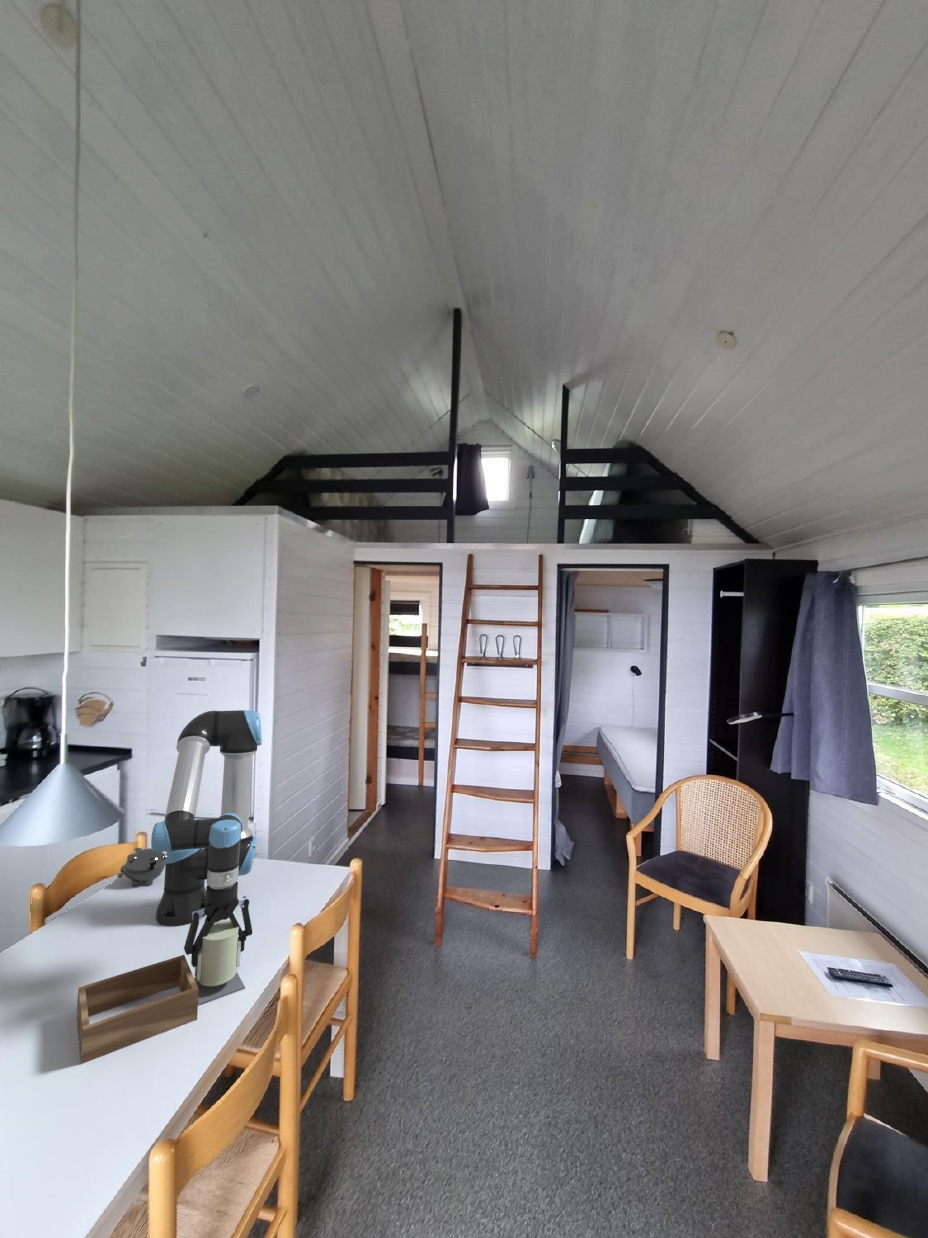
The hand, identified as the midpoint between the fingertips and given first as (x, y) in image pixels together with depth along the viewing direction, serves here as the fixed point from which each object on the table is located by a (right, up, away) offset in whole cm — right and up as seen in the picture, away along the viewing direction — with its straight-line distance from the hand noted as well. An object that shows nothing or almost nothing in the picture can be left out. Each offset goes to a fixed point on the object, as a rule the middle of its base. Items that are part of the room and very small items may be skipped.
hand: (217, 970), depth 137 cm
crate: (-13, -3, -13) cm, 18 cm away
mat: (0, -4, 0) cm, 4 cm away
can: (0, -1, 0) cm, 1 cm away
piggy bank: (-51, -3, +52) cm, 73 cm away
